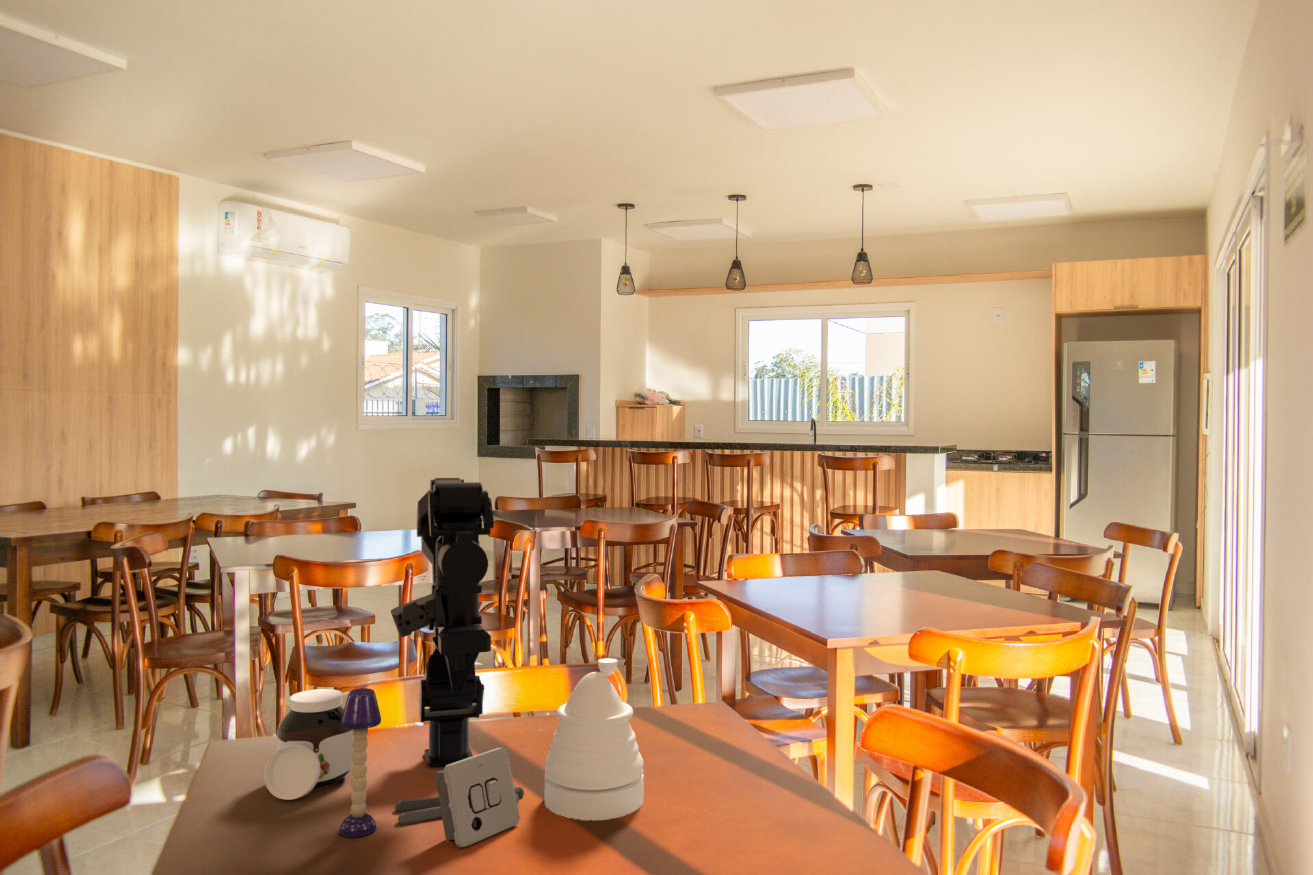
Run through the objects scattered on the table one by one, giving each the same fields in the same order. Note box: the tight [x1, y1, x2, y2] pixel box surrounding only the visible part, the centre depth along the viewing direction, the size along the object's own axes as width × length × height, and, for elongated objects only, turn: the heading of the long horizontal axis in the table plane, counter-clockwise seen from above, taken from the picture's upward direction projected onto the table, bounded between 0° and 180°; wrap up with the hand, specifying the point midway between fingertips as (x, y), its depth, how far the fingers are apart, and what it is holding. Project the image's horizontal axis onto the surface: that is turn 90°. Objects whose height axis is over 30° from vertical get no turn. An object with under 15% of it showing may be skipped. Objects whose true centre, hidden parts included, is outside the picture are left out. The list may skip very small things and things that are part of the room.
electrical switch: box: [434, 747, 521, 848], centre depth 113 cm, size 9×5×9 cm, turn 141°
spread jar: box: [263, 688, 354, 801], centre depth 127 cm, size 12×11×12 cm
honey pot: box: [544, 657, 645, 822], centre depth 122 cm, size 13×13×18 cm
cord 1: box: [394, 786, 525, 813], centre depth 121 cm, size 1×16×1 cm, turn 109°
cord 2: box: [397, 794, 520, 825], centre depth 118 cm, size 1×15×1 cm, turn 117°
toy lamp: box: [339, 687, 382, 838], centre depth 113 cm, size 5×5×17 cm
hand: (457, 693), depth 125 cm, fingers closed
